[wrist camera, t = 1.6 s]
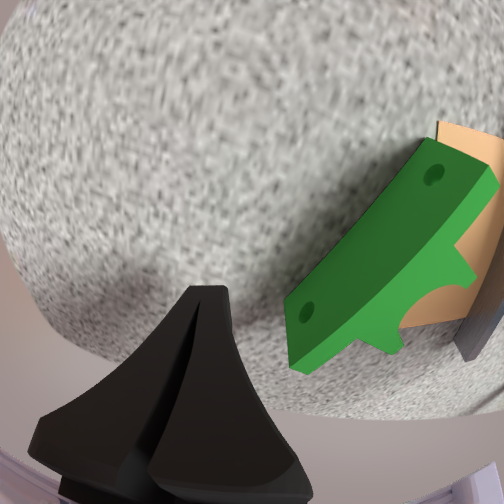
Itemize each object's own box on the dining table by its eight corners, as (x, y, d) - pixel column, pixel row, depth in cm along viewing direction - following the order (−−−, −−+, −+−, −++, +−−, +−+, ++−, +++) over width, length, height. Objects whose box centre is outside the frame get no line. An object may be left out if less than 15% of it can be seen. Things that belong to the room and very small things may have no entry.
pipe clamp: (332, 324, 16) (345, 388, 12) (283, 298, 15) (287, 368, 11) (465, 185, 11) (521, 227, 7) (426, 135, 10) (491, 165, 6)
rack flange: (546, 119, 8) (572, 130, 6) (478, 333, 17) (490, 354, 15) (439, 70, 8) (473, 71, 6) (380, 352, 18) (389, 380, 16)
